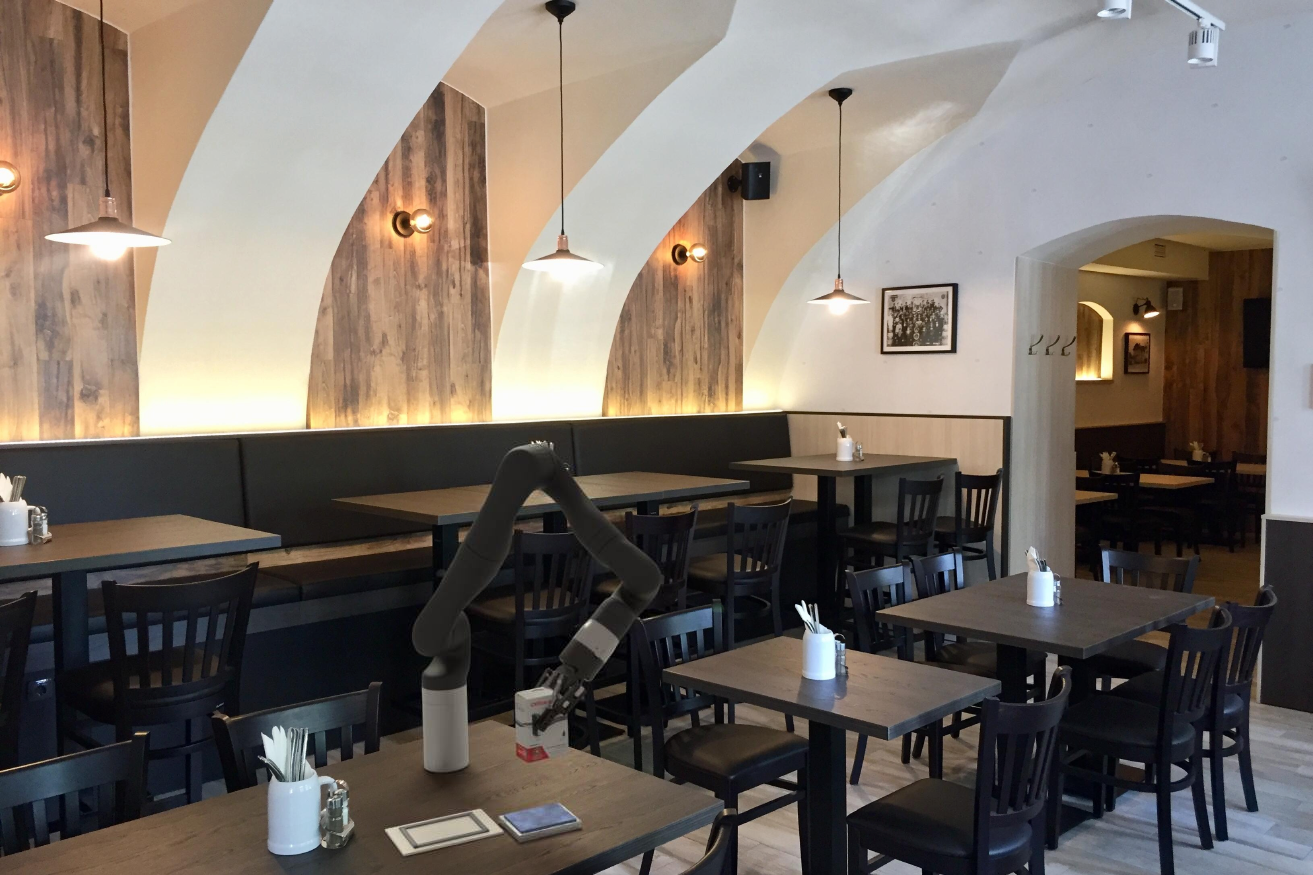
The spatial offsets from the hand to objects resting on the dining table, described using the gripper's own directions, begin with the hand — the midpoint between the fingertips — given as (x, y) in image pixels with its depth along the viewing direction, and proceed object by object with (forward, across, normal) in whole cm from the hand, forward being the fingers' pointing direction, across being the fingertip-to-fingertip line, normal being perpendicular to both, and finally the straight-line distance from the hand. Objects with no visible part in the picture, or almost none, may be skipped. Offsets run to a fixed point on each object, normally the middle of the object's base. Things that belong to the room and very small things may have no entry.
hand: (532, 724), depth 193 cm
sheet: (+24, -5, +2) cm, 24 cm away
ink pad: (+13, +1, +13) cm, 18 cm away
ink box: (+3, 0, +6) cm, 6 cm away
